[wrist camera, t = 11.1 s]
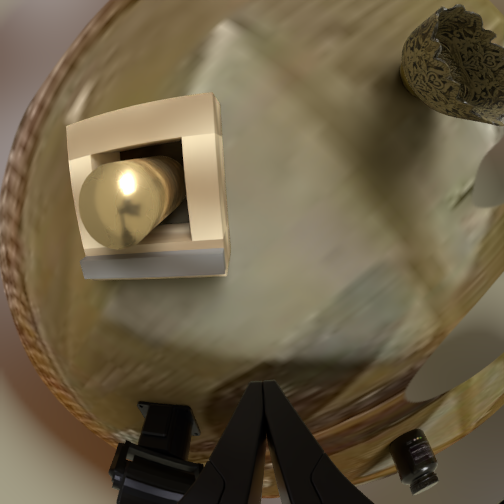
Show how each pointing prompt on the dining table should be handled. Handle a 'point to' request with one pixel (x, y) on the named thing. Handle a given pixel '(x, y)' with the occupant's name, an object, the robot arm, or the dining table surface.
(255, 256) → the dining table surface
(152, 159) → the gold metal cylinder
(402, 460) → the supplement bottle
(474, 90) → the cup
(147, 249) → the jig
